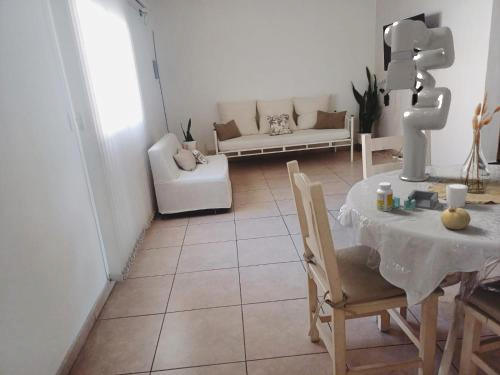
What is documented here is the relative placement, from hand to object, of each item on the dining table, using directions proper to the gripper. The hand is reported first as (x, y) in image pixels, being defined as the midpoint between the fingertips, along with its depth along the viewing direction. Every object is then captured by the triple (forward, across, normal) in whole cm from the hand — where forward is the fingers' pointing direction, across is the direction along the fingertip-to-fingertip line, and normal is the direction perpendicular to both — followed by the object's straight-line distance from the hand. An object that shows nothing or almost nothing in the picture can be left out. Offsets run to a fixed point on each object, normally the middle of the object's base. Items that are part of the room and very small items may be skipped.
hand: (400, 105), depth 133 cm
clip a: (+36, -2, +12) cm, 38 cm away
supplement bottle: (+36, 0, +16) cm, 40 cm away
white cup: (+36, -21, +2) cm, 42 cm away
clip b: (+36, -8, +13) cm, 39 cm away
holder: (+36, -11, +6) cm, 38 cm away
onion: (+36, -24, +23) cm, 49 cm away
